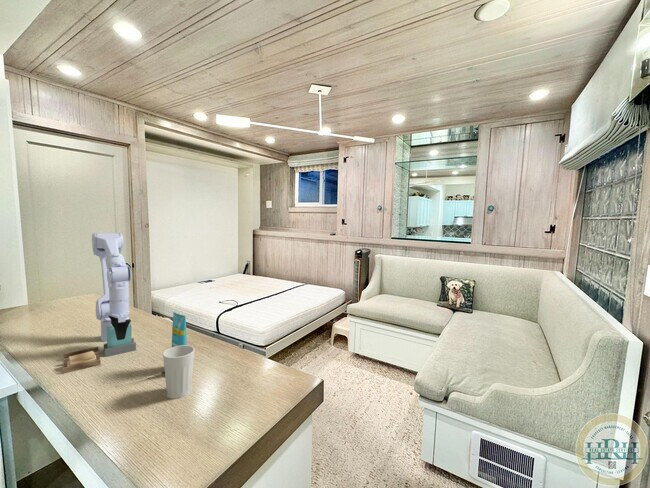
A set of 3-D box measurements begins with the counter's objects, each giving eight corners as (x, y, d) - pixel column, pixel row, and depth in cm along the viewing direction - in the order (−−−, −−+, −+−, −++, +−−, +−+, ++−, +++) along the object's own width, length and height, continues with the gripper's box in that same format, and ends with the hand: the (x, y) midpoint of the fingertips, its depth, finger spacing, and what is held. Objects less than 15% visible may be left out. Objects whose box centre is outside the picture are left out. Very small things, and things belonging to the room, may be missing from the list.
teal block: (130, 346, 105) (130, 323, 105) (131, 348, 103) (131, 325, 103) (107, 351, 101) (106, 327, 100) (107, 354, 99) (107, 329, 98)
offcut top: (92, 355, 94) (92, 350, 94) (95, 358, 92) (94, 353, 92) (68, 361, 89) (68, 356, 89) (70, 364, 87) (70, 359, 87)
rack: (98, 353, 101) (98, 345, 101) (100, 367, 92) (100, 358, 91) (64, 360, 95) (64, 352, 95) (63, 376, 86) (62, 367, 85)
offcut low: (95, 360, 94) (95, 354, 94) (96, 364, 92) (96, 358, 92) (67, 366, 90) (67, 361, 90) (67, 371, 87) (67, 365, 87)
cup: (187, 381, 85) (187, 342, 85) (199, 391, 80) (199, 350, 80) (158, 392, 79) (158, 351, 79) (170, 404, 74) (170, 360, 74)
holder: (133, 346, 108) (133, 337, 108) (136, 352, 103) (136, 343, 102) (103, 352, 102) (103, 343, 102) (105, 360, 97) (105, 350, 96)
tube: (165, 371, 91) (165, 313, 89) (179, 365, 95) (179, 309, 94) (179, 378, 87) (179, 317, 86) (193, 371, 91) (193, 313, 90)
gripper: (103, 296, 104) (104, 332, 105) (106, 306, 93) (107, 345, 94) (126, 294, 108) (127, 328, 109) (132, 302, 98) (132, 340, 98)
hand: (119, 336), depth 102 cm, fingers open, 7 cm apart
